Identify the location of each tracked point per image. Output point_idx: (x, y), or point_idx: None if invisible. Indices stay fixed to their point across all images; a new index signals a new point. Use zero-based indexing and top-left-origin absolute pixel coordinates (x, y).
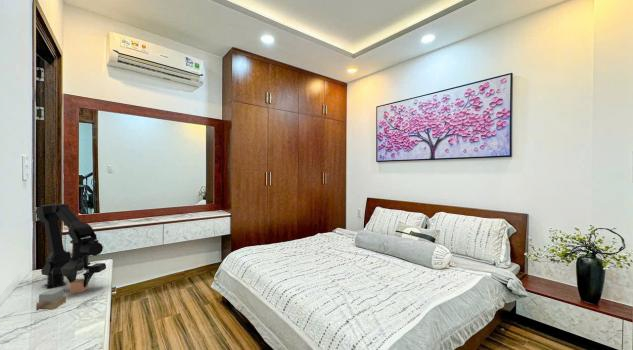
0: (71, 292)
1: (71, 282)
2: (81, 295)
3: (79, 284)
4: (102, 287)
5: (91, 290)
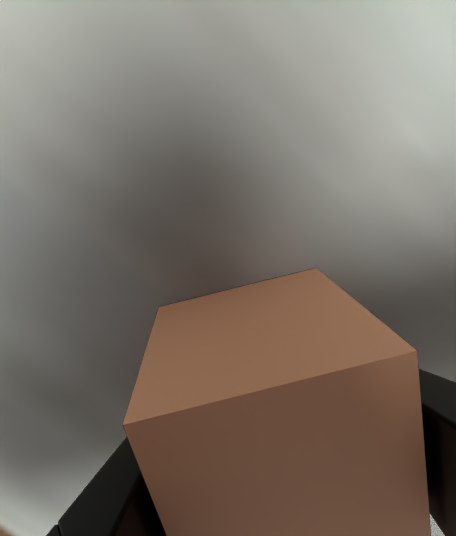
0: (296, 275)
1: (401, 375)
2: (30, 203)
3: (182, 376)
4: (17, 485)
5: (70, 383)
